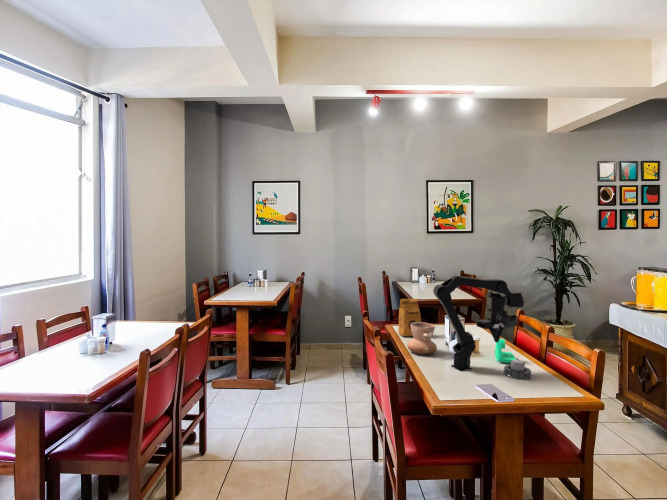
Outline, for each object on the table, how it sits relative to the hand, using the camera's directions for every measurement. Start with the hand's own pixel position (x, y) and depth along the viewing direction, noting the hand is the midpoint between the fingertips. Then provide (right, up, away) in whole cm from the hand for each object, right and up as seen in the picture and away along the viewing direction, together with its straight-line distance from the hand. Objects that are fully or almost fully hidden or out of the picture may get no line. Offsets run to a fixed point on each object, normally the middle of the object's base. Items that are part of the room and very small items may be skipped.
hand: (496, 342), depth 167 cm
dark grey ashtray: (+6, -12, -7) cm, 15 cm away
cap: (+6, -12, -7) cm, 15 cm away
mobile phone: (-12, -13, -26) cm, 32 cm away
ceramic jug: (-28, -11, +24) cm, 38 cm away
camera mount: (+9, -12, +12) cm, 20 cm away
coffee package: (-28, -10, +55) cm, 62 cm away
